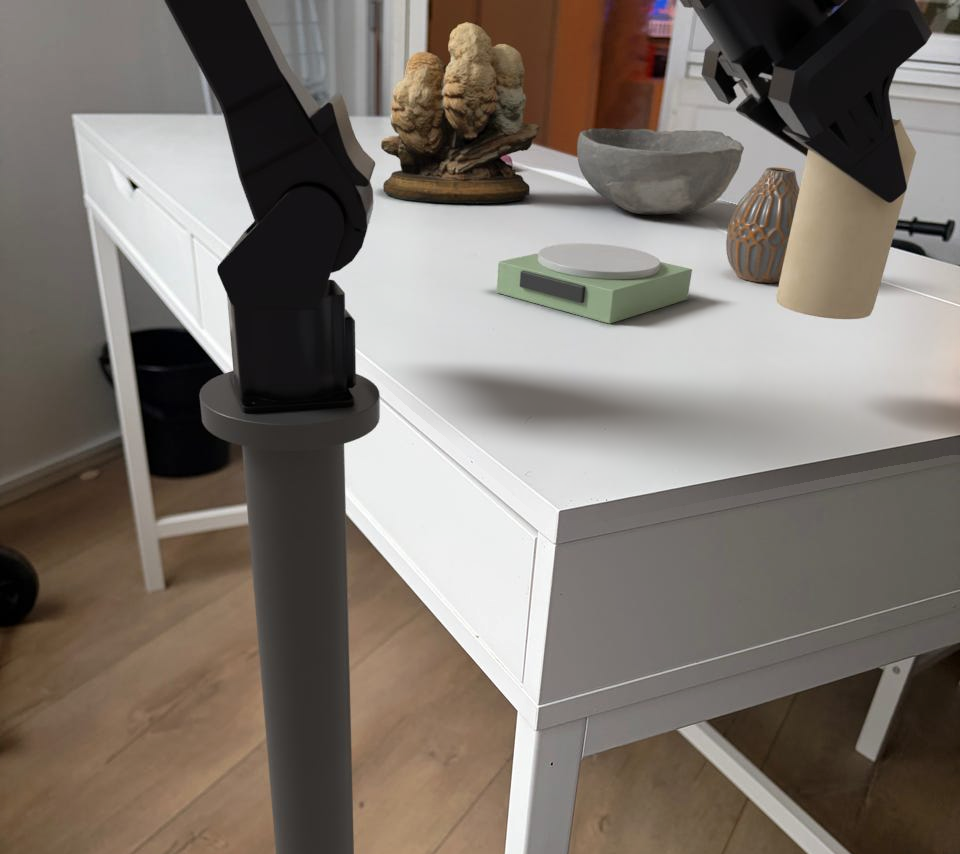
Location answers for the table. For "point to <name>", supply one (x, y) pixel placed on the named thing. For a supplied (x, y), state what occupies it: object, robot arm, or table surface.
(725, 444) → the table surface
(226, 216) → the table surface
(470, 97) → the owl figurine
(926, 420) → the table surface
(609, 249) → the scale
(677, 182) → the bowl
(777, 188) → the vase
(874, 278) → the candle
